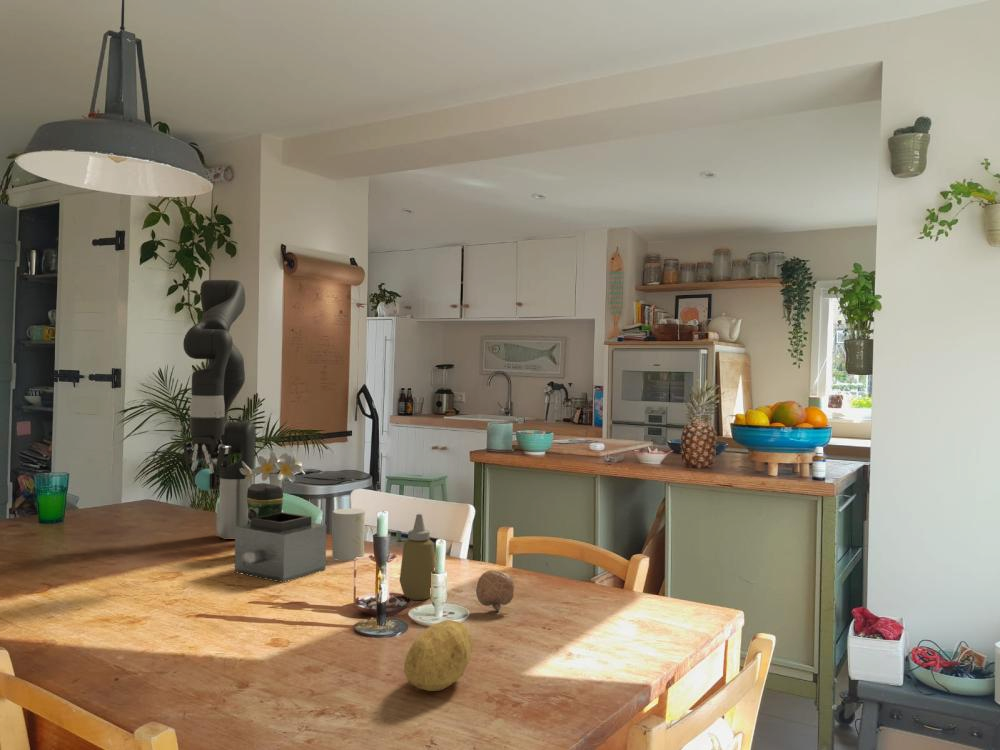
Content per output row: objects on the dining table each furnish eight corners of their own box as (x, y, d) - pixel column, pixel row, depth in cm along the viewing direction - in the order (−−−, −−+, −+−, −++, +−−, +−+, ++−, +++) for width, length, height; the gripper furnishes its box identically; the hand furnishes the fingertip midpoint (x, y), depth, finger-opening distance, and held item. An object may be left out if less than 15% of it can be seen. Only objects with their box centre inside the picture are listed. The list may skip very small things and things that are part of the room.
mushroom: (518, 610, 163) (519, 571, 163) (502, 617, 158) (503, 578, 158) (489, 603, 167) (489, 566, 167) (472, 610, 162) (472, 572, 162)
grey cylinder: (360, 561, 201) (361, 514, 201) (329, 560, 201) (329, 513, 201) (366, 553, 209) (367, 508, 209) (336, 552, 210) (337, 508, 209)
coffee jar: (287, 555, 206) (288, 484, 206) (260, 560, 200) (261, 487, 200) (268, 548, 213) (269, 480, 213) (241, 553, 207) (242, 483, 207)
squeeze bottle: (430, 603, 166) (431, 518, 166) (394, 600, 168) (395, 516, 168) (440, 593, 174) (442, 512, 174) (406, 590, 176) (407, 510, 176)
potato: (489, 680, 126) (490, 621, 126) (423, 709, 115) (424, 644, 115) (445, 664, 133) (446, 608, 133) (379, 689, 122) (380, 628, 122)
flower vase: (231, 542, 220) (233, 452, 220) (287, 532, 234) (288, 448, 234) (258, 549, 212) (260, 456, 211) (314, 538, 226) (315, 452, 226)
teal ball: (189, 490, 182) (190, 469, 182) (207, 488, 186) (207, 466, 186) (204, 492, 179) (204, 471, 179) (222, 489, 184) (222, 468, 183)
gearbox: (221, 576, 184) (222, 521, 184) (277, 560, 200) (278, 509, 200) (270, 586, 176) (271, 529, 176) (325, 569, 192) (326, 516, 192)
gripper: (173, 414, 183) (172, 487, 183) (215, 417, 176) (214, 493, 176) (199, 412, 189) (198, 483, 189) (241, 415, 182) (240, 488, 182)
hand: (206, 487), depth 183 cm, fingers closed on teal ball, 5 cm apart
